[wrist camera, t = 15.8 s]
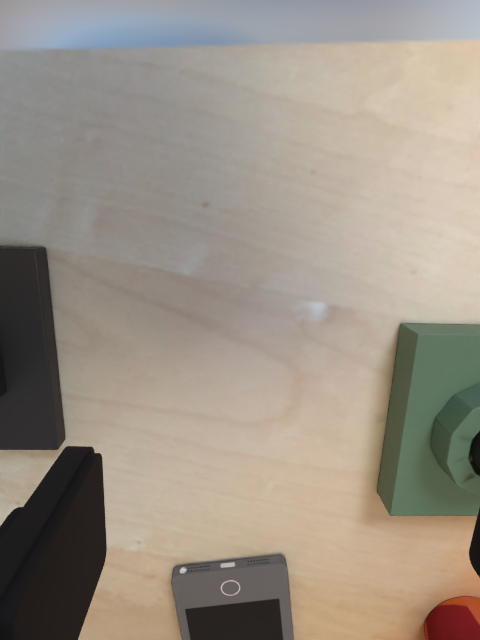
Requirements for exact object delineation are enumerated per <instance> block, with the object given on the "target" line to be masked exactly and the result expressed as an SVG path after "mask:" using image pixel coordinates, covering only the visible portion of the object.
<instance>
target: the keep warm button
mask: <svg viewBox="0 0 480 640" xmlns="http://www.w3.org/2000/svg"><path fill="white" fill-rule="evenodd" d="M471 456H472V459H473V462H474V463H475V465H476V466H477V467H478V468H479V469H480V431H479V432H478V433H477V434H476V436H475V438H474V440H473V442H472V446H471Z"/></svg>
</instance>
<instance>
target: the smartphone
mask: <svg viewBox="0 0 480 640" xmlns="http://www.w3.org/2000/svg"><path fill="white" fill-rule="evenodd" d="M171 584H172V590H173V595H174V600H175V605H176V611H177V616H178V621H179V626H180V632H181V637H182V640H294V637H293V625H292V614H291V602H290V591H289V579H288V570H287V564H286V560H285V558H284V557H283V556H282V555H278V556H269V557H261V558H252V559H243V560H234V561H225V562H216V563H207V564H198V565H189V566H180V567H175V568H174V570H173V574H172V581H171Z"/></svg>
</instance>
